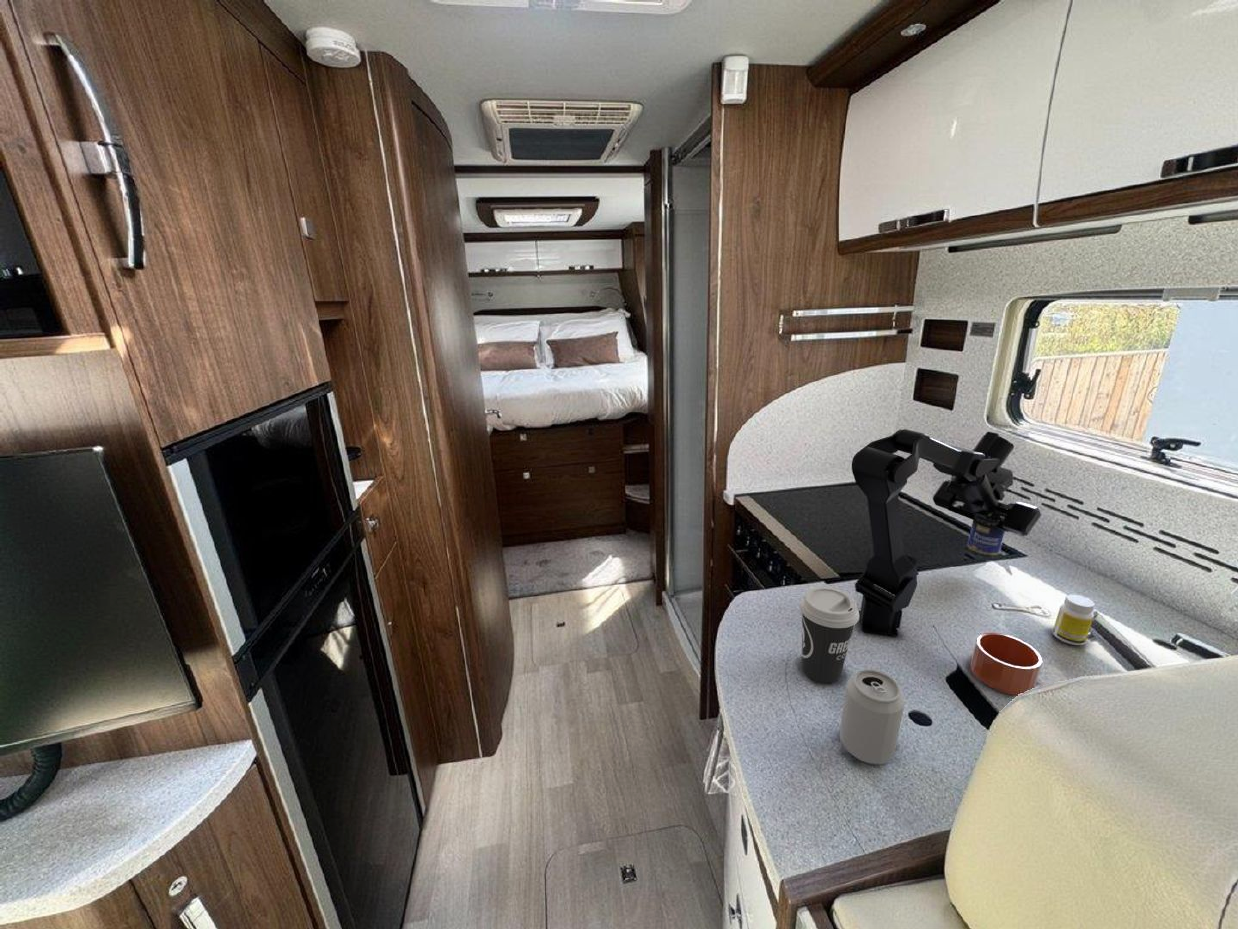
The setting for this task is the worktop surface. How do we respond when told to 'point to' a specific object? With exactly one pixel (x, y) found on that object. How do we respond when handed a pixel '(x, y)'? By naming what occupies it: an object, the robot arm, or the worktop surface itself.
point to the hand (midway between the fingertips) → (992, 524)
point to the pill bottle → (986, 536)
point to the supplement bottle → (1074, 620)
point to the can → (871, 716)
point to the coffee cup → (826, 632)
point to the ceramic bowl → (1005, 663)
